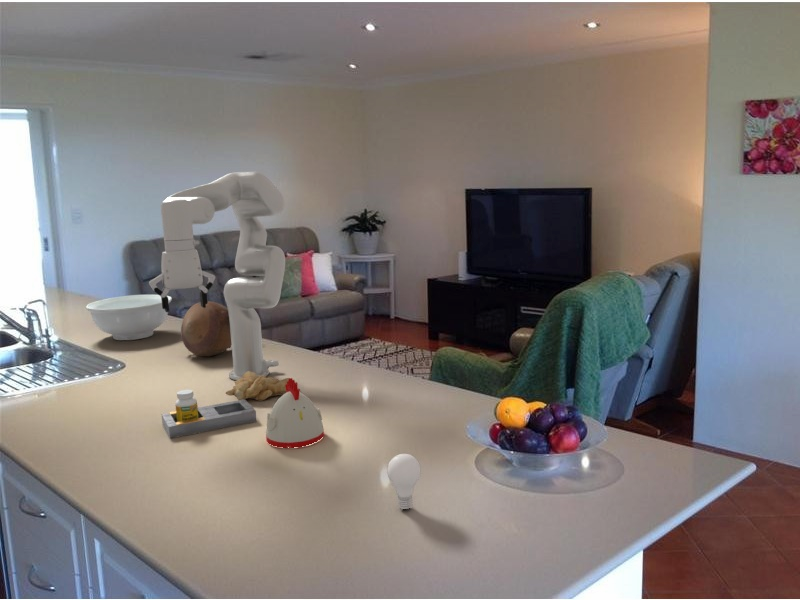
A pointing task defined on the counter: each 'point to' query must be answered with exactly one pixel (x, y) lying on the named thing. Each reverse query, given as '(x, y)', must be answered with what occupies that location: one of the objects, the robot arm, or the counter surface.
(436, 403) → the counter surface
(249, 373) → the ginger root
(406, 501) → the lightbulb
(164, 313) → the bowl
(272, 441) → the kitchen timer
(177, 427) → the cinder block
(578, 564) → the counter surface
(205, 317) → the brown round lump
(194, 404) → the supplement bottle
